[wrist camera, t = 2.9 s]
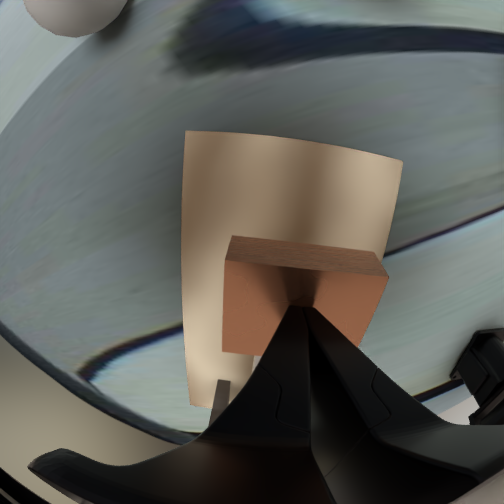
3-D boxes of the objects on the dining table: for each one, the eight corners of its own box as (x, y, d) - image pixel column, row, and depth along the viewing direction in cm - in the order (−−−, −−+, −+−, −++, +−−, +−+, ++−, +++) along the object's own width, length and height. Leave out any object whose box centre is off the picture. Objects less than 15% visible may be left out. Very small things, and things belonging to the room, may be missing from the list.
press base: (392, 159, 14) (469, 177, 7) (318, 404, 23) (327, 470, 16) (192, 131, 15) (134, 125, 8) (193, 392, 23) (176, 458, 16)
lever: (369, 243, 10) (390, 280, 7) (288, 433, 18) (288, 459, 16) (234, 227, 10) (223, 263, 8) (224, 428, 18) (221, 454, 16)
